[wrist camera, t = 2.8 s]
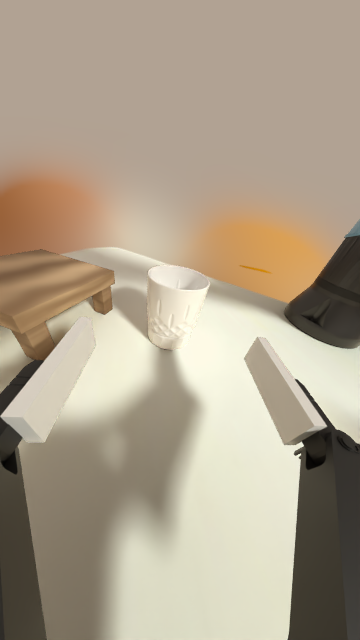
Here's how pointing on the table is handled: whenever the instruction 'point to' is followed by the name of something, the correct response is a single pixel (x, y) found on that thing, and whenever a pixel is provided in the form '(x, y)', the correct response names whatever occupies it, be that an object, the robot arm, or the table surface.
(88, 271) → the stool
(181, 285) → the white cup
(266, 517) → the table surface
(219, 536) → the table surface
